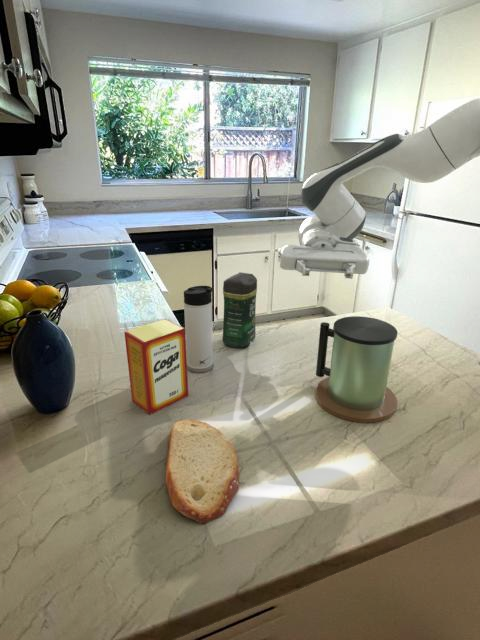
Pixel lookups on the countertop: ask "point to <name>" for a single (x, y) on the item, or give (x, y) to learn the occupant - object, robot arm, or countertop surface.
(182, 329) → the baking soda box
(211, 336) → the travel mug
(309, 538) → the countertop surface
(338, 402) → the lidded mug on coaster
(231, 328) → the coffee jar
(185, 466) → the slice of bread
